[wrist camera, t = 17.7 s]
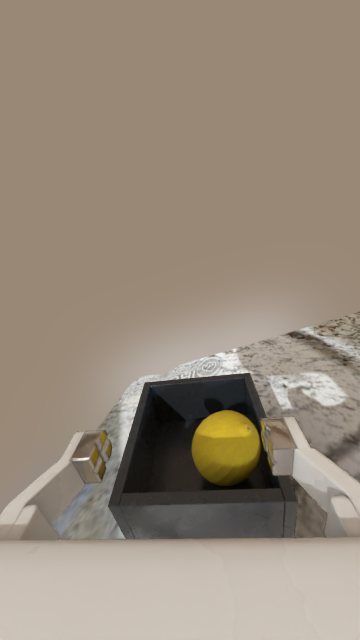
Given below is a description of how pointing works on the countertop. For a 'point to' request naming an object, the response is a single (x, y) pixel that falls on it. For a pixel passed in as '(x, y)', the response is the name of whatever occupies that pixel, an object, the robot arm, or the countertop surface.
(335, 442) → the countertop surface
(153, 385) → the dark gray open box
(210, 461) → the lemon
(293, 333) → the countertop surface
